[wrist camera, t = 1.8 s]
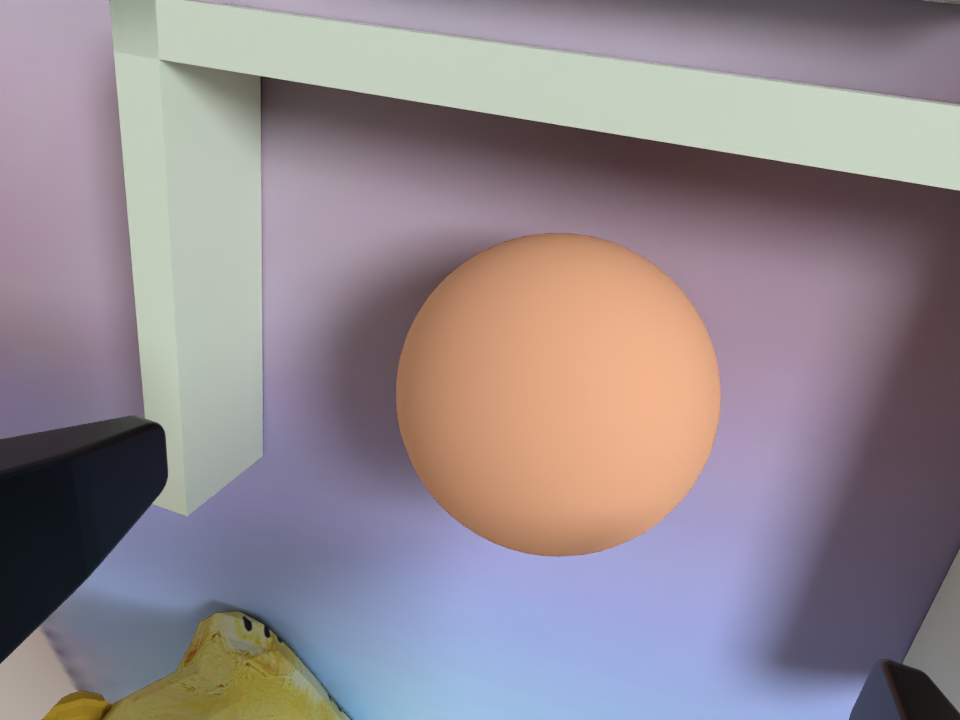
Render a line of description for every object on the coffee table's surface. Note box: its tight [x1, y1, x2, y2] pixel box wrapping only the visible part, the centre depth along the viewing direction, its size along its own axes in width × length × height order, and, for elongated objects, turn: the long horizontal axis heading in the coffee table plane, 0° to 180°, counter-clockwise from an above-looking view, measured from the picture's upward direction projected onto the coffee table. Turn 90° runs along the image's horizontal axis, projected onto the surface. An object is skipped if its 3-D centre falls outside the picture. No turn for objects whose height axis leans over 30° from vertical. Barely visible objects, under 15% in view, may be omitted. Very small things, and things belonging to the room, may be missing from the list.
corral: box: [109, 0, 960, 712], centre depth 14 cm, size 11×18×3 cm, turn 82°
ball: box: [396, 233, 721, 557], centre depth 13 cm, size 6×6×6 cm
